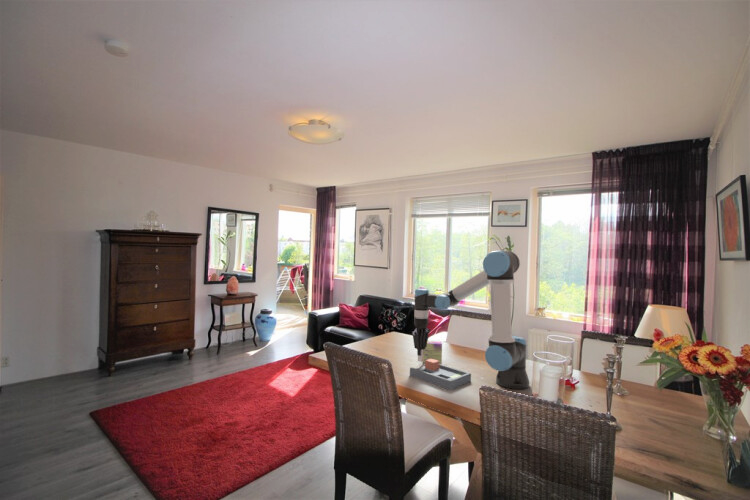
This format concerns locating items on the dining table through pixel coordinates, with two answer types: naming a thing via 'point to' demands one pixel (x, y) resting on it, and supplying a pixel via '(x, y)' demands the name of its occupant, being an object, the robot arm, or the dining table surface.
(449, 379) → the box
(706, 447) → the dining table surface
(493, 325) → the robot arm
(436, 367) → the block
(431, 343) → the box
